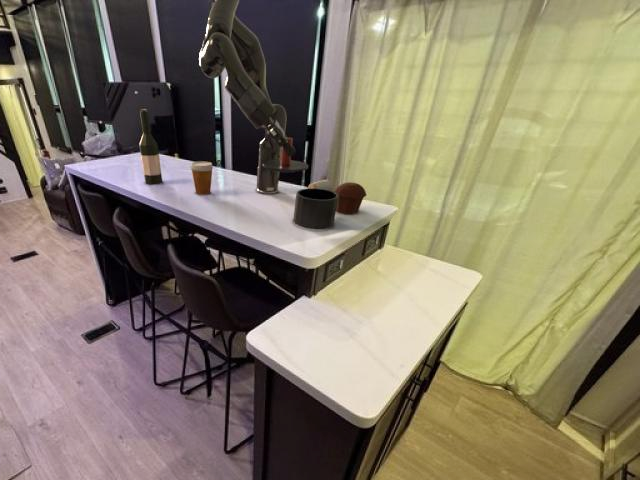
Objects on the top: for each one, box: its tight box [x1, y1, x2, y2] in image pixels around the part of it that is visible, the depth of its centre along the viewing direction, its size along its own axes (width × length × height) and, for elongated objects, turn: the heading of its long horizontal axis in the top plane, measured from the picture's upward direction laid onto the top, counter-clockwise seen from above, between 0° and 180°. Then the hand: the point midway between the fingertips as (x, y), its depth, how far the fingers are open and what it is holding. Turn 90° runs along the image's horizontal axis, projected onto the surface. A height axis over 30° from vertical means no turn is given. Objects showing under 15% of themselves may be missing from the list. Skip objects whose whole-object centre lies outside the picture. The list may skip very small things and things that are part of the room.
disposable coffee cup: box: [189, 161, 214, 196], centre depth 132 cm, size 10×10×12 cm
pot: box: [292, 187, 339, 230], centre depth 105 cm, size 14×14×10 cm
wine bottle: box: [139, 108, 164, 186], centre depth 140 cm, size 8×8×30 cm
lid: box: [262, 137, 309, 173], centre depth 97 cm, size 15×15×9 cm
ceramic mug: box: [307, 179, 334, 192], centre depth 126 cm, size 11×8×8 cm
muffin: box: [333, 181, 367, 215], centre depth 116 cm, size 12×11×10 cm
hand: (292, 153), depth 97 cm, fingers closed on lid, 3 cm apart
